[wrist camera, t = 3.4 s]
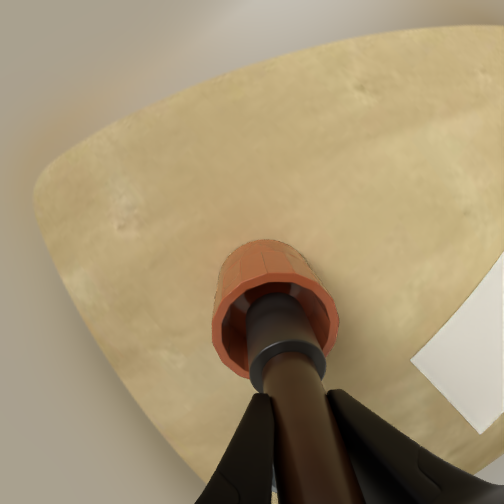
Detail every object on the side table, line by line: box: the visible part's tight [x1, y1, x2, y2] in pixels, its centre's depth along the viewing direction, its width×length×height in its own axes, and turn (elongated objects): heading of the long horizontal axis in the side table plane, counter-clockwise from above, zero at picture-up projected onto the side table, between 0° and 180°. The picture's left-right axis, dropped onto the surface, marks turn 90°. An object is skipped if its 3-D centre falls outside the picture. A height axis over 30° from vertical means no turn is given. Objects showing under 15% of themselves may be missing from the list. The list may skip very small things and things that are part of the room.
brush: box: [245, 292, 366, 504], centre depth 9 cm, size 3×3×11 cm
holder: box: [212, 240, 339, 379], centre depth 15 cm, size 5×5×6 cm
